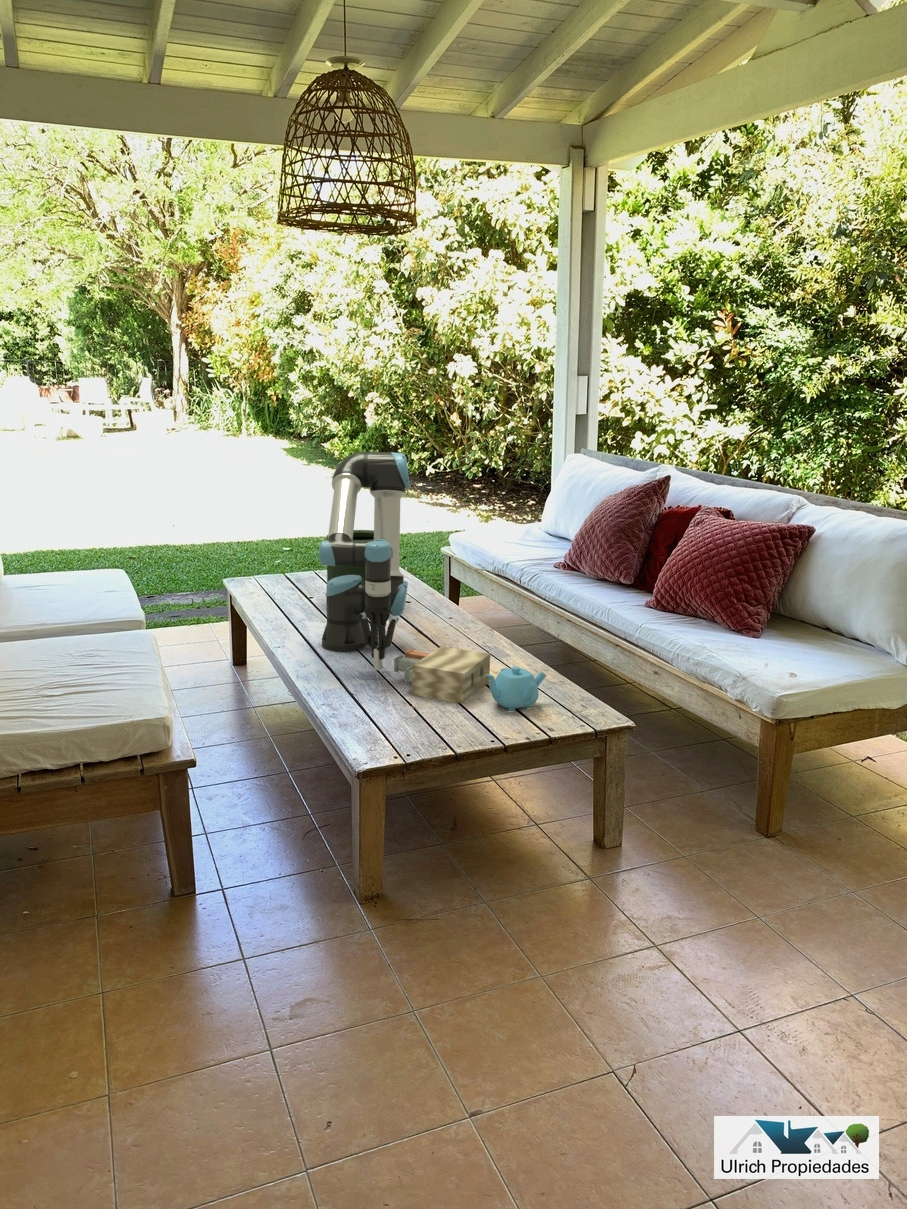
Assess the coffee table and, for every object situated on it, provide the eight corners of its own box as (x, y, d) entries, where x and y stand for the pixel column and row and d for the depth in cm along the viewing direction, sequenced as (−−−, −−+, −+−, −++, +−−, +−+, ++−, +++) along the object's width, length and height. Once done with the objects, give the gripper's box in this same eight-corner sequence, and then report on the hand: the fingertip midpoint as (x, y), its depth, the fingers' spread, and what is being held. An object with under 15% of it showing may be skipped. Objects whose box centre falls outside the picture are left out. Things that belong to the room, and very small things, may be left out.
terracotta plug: (404, 664, 293) (404, 652, 292) (410, 661, 297) (410, 648, 295) (455, 673, 286) (455, 660, 285) (460, 669, 290) (461, 656, 289)
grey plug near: (404, 682, 278) (404, 669, 277) (410, 678, 281) (410, 665, 280) (458, 691, 271) (458, 678, 270) (463, 687, 275) (464, 674, 274)
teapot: (531, 718, 261) (533, 679, 258) (483, 711, 265) (484, 672, 262) (545, 700, 275) (547, 662, 272) (500, 693, 279) (501, 656, 276)
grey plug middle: (394, 671, 287) (394, 658, 286) (400, 667, 290) (400, 655, 289) (445, 680, 280) (446, 667, 279) (451, 676, 284) (451, 663, 283)
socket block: (412, 694, 277) (412, 665, 274) (440, 674, 294) (441, 646, 292) (463, 703, 271) (463, 673, 268) (489, 682, 288) (490, 653, 286)
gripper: (352, 593, 283) (353, 668, 290) (391, 599, 278) (391, 675, 285) (365, 588, 290) (365, 661, 297) (403, 593, 285) (402, 668, 291)
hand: (378, 668), depth 291 cm, fingers closed
